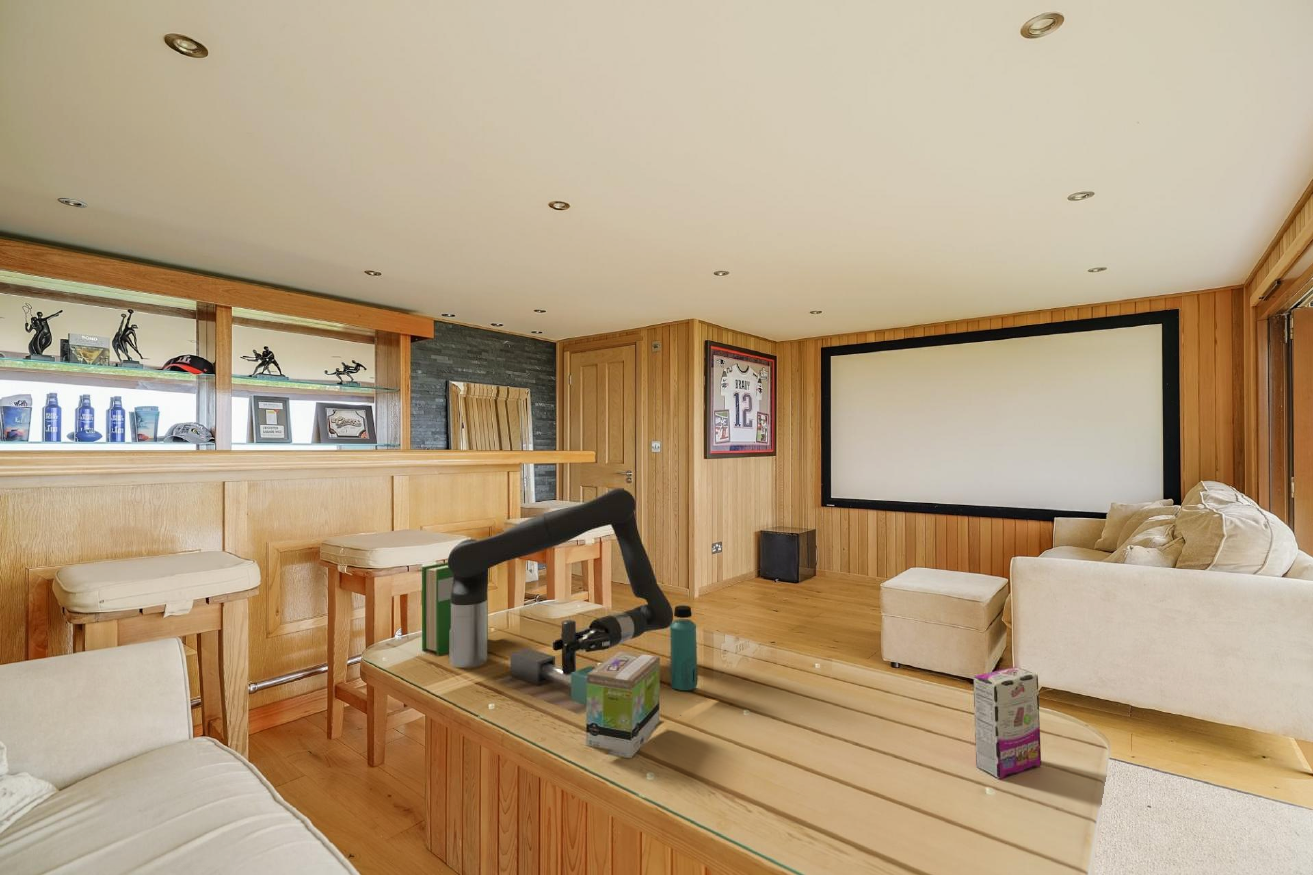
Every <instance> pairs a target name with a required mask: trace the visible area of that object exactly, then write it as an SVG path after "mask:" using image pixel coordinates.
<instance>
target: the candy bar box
mask: <svg viewBox="0 0 1313 875" xmlns="http://www.w3.org/2000/svg"><path fill="white" fill-rule="evenodd" d="M972 679H973V680H972V681H973V685H972V686H973V704H974V705H973V707H974V708H973V709H974V733H975V734H974V736H975V738H974V739H975V762H976V764H975V766H976V768H978V769H979V770H981V771H983V772H985V773H986V774H988V775H991V776H993V777H994V778H996V779H997V780H1001V779H1005V778H1008V777H1011V776H1013V775H1014V776H1015V775H1017V774H1020V773H1023V772H1025V771H1029V770H1031V769H1032V770H1033V769H1035V768H1038V767H1040V766H1042V757H1041V756H1042V754H1041V753H1042V752H1041V729H1040V728H1041V726H1040V699H1039V698H1040V697H1039V675H1038V674H1037V673H1034V672H1031V671H1028V670H1026V669H1022V668H1021V667H1017V666H1012V667H1008V668H1004V669H999V670H996V671H990V672H986V673H982V674H978V675H974V676H972Z"/></svg>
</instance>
